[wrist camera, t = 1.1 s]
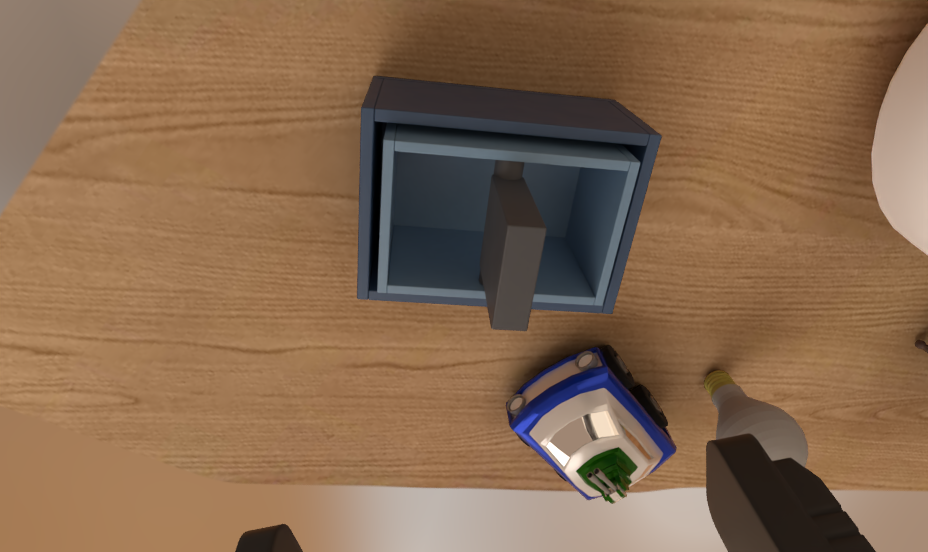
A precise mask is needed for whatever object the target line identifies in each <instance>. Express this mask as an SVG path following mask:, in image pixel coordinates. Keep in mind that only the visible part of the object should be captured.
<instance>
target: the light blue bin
mask: <svg viewBox="0 0 928 552" xmlns="http://www.w3.org/2000/svg"><path fill="white" fill-rule="evenodd" d="M639 167H640V161H638V160H637V159H636V158H635V157H634V156H633V155H632V154H631V153H630V152H629V151H628V150H627V149H626V148H625V147H624V146H623V145H622V144H617V143H607V142H596V141H585V140H574V139H563V138H552V137H541V136H530V135H519V134H508V133H497V132H486V131H476V130H465V129H454V128H443V127H432V126H421V125H410V124H399V123H388V122H387V125H386V130H385V135H384V140H383V162H382V186H381V211H380V235H379V260H378V284H377V292H378V293H396V294H413V295H429V296H446V297H463V298H480V299H486V302H487V307H488V313H489V318H490V324H491V328H492V329H497V330H516V331H527V328H528V322H529V317H530V312H531V307H532V302H547V303H564V304H581V305H598V306H602V305H603V302H604V298H605V294H606V291H607V287H608V283H609V279H610V276H611V272H612V268H613V264H614V261H615V257H616V253H617V249H618V246H619V242H620V238H621V234H622V231H623V227H624V223H625V219H626V216H627V212H628V208H629V204H630V201H631V197H632V193H633V189H634V186H635V182H636V178H637V174H638V171H639Z"/></svg>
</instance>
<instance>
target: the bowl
mask: <svg viewBox="0 0 928 552" xmlns="http://www.w3.org/2000/svg"><path fill="white" fill-rule="evenodd" d="M871 155H872V183H873V186H874V189H875V193H876V196H877V200H878V203H879V206H880V208H881V210H882V212H883V213H884V215H885V216H886V218H887V219H888V221H889V222H890V224H891V226H892V227H893V228H894V229H895V230H896V231H898V232H899V233H900V234H901V235H902V236H904V237H905V238H906V239H907V240H908V241H909V242H911V243H912V244H913V245H915V246H916V247H917V248H919V249H920V250H921V251H923V252H924V253H925V254H927V255H928V23H927V24H926V26H925V27H924V28H923V30H922V31H921V32H920V34H919V35H918V37H917V38H916V39H915V41H914V42H913V43H912V45H911V46H910V47H909V49H908V50H907V52H906V53H905V55H904V57H903V59H902V61H901V63H900V64H899V66H898V68H897V70H896V72H895V74H894V75H893V77H892V79H891V81H890V83H889V86H888V89H887V92H886V95H885V97H884V100H883V103H882V106H881V108H880V111H879V117H878V120H877V124H876V130H875V136H874V142H873V147H872V153H871Z"/></svg>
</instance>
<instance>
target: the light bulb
mask: <svg viewBox="0 0 928 552" xmlns="http://www.w3.org/2000/svg"><path fill="white" fill-rule="evenodd" d="M704 387H705V389H706V390H707V391H708V393H709V394H710V396H711V398H712V402H713V404H714V405H715V407H716V408H717V410H718V413H719V415H718V424H717V430H716V440H717V439H722V438H727V437H732V436H737V435H742V434H747V433H750V434H752V435H753V436H754V437H755V438H756V439H757V440H758V441H759V443H760V444H761V446H762V447H763V448H764V450H765V451H766V453H767V454H768V456H769V457H770V459H771V460H772V461H774V460H780V459H785V458H790V457H791V458H792V459H794V460H795V461H796V462H798V463H799V464H801V465H802V466H803V467H805V465H806V461H807V457H808V446H807V441H806V438H805V435H804V432H803V430H802V429H801V428H800V426H799V425H798V423H797V422H796V421H795V420H794V418H792V417H791V416H790V415H789V414H787V413H786V412H785V411H784V410H782V409H780V408H778V407H776V406H773V405H771V404H768V403H765V402H762V401H758V400H755V399H753V398H750V397H748V396H747V395H746V394H745V393H744V392H743V390H742V389H741V387H739V386H738V385H736V384H735V382H734V381H733V379H732V378H731V377H730V376H729V374H728V373H726V372H725V371H721V370H717V371H714V372H712V373H710V374H709V375H708V376H707V377H706V378H705V380H704Z"/></svg>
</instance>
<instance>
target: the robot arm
mask: <svg viewBox="0 0 928 552" xmlns="http://www.w3.org/2000/svg"><path fill="white" fill-rule="evenodd" d="M706 490H707V491H706V493H707V501H708V506H709V510H710V513H711V516H712V519H713V522H714V524H715V527H716V529H717V531H718V533H719V534H720V537H721V539H722V540H723V543H724V544H725V546H726V548H727V550H728V552H876V551H875V550H874V549H873V547H872V546H871V545H870V543H869V542H868V541H867V539H866V538H865V537H864V535H861V534H860V533H859V530H858V528H857V526H856V525H855V524H854V522H853V521H852V520H851V518H850V517H849V516H848V514H847V513H846V512H845V511H843V510H842V508H841V505H840V504H839V503H838V501H837V500H836V499H835V497H834V496H833V495H832V493H831V492H830V491H829V489H828V488H827V487H826V485H825V484H824V483H823V481H822V480H821V479H820V478H819V477H818V476H816V475H815V474H813V473H812V472H811V471H809V470H808V469H806V468H805V467H803V466H802V465H801V464H799V463H798V462H796V461H795V460H794V459H792V458H791V457H790V458H785V459H780V460H774V461H772V460H771V459H770V457H769V456H768V454H767V453H766V451H765V450H764V448H763V447H762V446H761V444H760V443H759V441H758V440H757V439H756V438H755V437H754V436H753V435H752V434H750V433H747V434H742V435H737V436H732V437H727V438H722V439H717V440H711V441H708V443H707V446H706ZM235 552H303V551H302V549H301V547H300V546H299V544H298V542H297V540H296V538H295V537H294V535H293V533H292V531H291V530H290V528H289V527H288V526H287V525H286V524H281V525H277V526H272V527H266V528H261V529H256V530H251V531H247V532H245V533H243V535H242V536H241V538H240V540H239V542H238V545H237V548H236V551H235Z"/></svg>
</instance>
